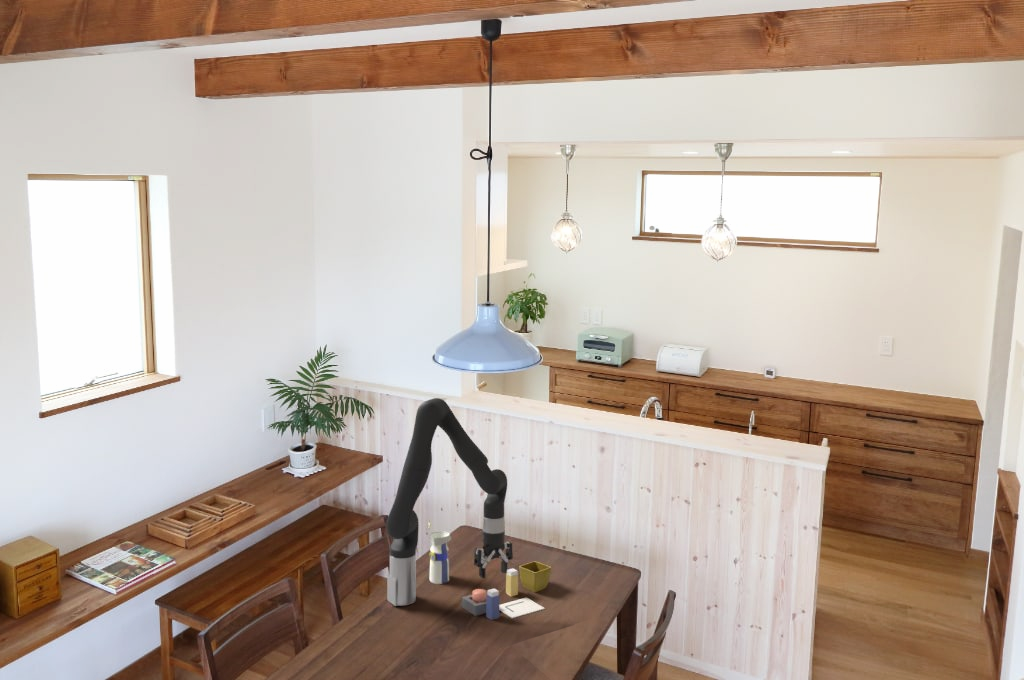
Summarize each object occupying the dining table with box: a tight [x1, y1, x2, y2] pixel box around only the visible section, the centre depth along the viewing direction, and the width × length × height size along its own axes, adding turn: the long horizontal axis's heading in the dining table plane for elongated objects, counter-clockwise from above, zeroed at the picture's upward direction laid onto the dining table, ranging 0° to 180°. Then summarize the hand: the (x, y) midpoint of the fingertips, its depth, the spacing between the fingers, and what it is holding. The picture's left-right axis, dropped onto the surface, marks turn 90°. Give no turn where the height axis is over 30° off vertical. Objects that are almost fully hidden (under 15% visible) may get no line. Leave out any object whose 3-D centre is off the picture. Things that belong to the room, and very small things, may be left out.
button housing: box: [461, 594, 486, 617], centre depth 296 cm, size 9×9×4 cm
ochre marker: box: [505, 567, 519, 598], centre depth 308 cm, size 3×3×10 cm
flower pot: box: [518, 560, 552, 593], centre depth 313 cm, size 9×9×9 cm
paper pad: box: [499, 597, 546, 619], centre depth 297 cm, size 14×11×1 cm
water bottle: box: [427, 519, 452, 585], centre depth 316 cm, size 8×9×25 cm
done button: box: [471, 588, 487, 603], centre depth 296 cm, size 5×5×4 cm
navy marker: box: [485, 588, 500, 621], centre depth 289 cm, size 3×3×10 cm
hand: (493, 575), depth 288 cm, fingers open, 8 cm apart
